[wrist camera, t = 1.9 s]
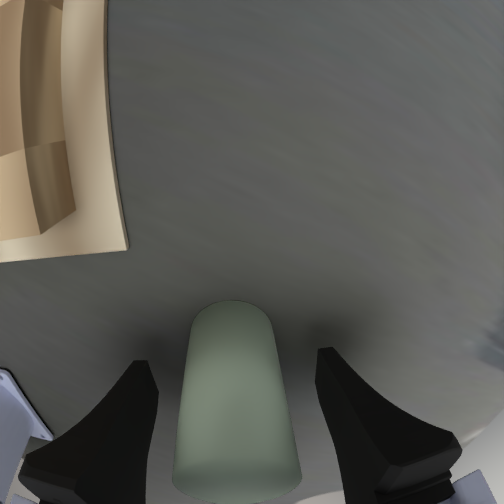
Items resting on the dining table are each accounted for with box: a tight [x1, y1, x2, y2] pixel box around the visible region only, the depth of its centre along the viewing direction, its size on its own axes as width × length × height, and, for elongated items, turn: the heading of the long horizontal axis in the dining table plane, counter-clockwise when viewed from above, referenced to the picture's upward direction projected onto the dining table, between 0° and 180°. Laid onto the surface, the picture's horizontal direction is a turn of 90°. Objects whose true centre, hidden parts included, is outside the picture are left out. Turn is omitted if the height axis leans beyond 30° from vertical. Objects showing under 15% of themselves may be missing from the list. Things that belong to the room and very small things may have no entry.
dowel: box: [172, 300, 302, 504], centre depth 11 cm, size 4×4×8 cm
